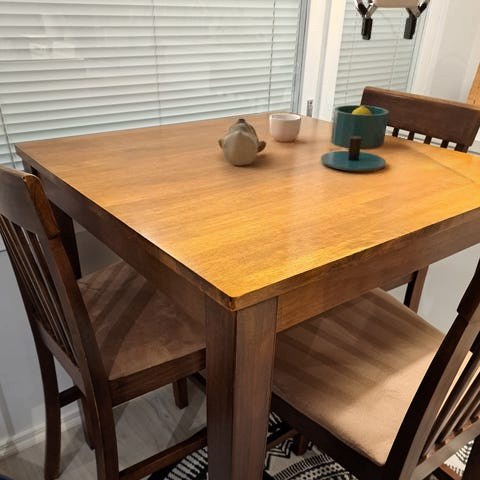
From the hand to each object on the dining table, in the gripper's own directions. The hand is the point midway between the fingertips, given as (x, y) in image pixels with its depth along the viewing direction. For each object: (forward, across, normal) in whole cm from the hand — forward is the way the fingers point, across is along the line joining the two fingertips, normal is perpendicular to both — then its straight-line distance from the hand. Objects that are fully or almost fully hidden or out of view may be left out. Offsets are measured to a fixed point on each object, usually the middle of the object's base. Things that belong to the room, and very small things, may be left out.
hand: (387, 39), depth 108 cm
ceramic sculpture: (+22, -34, -9) cm, 41 cm away
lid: (+22, -11, -16) cm, 29 cm away
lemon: (+22, -3, +2) cm, 22 cm away
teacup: (+22, -20, +8) cm, 31 cm away
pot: (+22, -3, +2) cm, 23 cm away
